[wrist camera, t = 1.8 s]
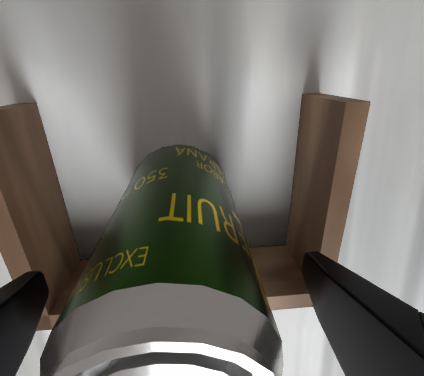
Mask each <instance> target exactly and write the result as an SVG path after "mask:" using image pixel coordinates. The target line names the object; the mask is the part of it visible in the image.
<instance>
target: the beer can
mask: <svg viewBox="0 0 424 376" xmlns="http://www.w3.org/2000/svg"><path fill="white" fill-rule="evenodd" d="M282 370H283V353H282V340H281V337H280V335H279V332H278V329H277V326H276V323H275V320H274V317H273V314H272V311H271V309H270V306H269V303H268V300H267V297H266V294H265V291H264V288H263V286H262V283H261V280H260V277H259V274H258V271H257V268H256V265H255V262H254V260H253V257H252V254H251V251H250V248H249V245H248V242H247V239H246V237H245V234H244V231H243V228H242V225H241V222H240V219H239V216H238V213H237V211H236V208H235V205H234V202H233V199H232V196H231V193H230V190H229V188H228V185H227V182H226V179H225V176H224V174H223V172H222V170H221V168H220V166H219V164H218V163H217V162H216V161H215V160H214V159H213V158H212V157H211V156H210V155H209V154H208V153H206V152H204V151H202V150H199V149H197V148H195V147H192V146H185V145H173V146H167V147H162V148H160V149H158V150H156V151H155V152H153V153H151V154H149V155H148V156H147V157H146V158H145V159H144V160H143V162H142V163H141V164H140V165H139V166H138V168H137V170H136V172H135V174H134V176H133V178H132V180H131V182H130V183H129V185H128V187H127V189H126V191H125V193H124V195H123V197H122V199H121V200H120V202H119V204H118V206H117V208H116V210H115V212H114V214H113V216H112V217H111V219H110V221H109V223H108V225H107V227H106V229H105V231H104V233H103V234H102V236H101V238H100V240H99V242H98V244H97V246H96V248H95V250H94V251H93V253H92V255H91V257H90V259H89V261H88V263H87V265H86V267H85V268H84V270H83V272H82V274H81V276H80V278H79V280H78V282H77V284H76V285H75V287H74V289H73V291H72V293H71V295H70V297H69V299H68V301H67V302H66V304H65V306H64V308H63V310H62V312H61V314H60V316H59V318H58V319H57V321H56V323H55V325H54V327H53V329H52V331H51V333H50V335H49V338H48V340H47V343H46V345H45V348H44V351H43V353H42V356H41V358H40V376H282Z"/></svg>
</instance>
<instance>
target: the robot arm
mask: <svg viewBox="0 0 424 376" xmlns="http://www.w3.org/2000/svg"><path fill="white" fill-rule="evenodd" d="M302 275H303V279H304V281H305V284H306V287H307V290H308V293H309V296H310V298H311V301H312V304H313V307H314V310H315V312H316V315H317V317H318V320H319V322H320V324H321V326H322V328H323V330H324V332H325V334H326V336H327V339H328V341H329V343H330V345H331V347H332V349H333V351H334V353H335V355H336V357H337V359H338V361H339V363H340V366H341V368H342V370H343V372H344V374H345V376H424V313H422V312H418V310H417V309H415V308H413V307H412V306H410V305H408V304H407V303H405V302H403V301H401V300H400V299H398V298H396V297H395V296H393V295H391V294H390V293H388V292H386V291H385V290H383V289H381V288H379V287H378V286H376V285H374V284H373V283H371V282H369V281H368V280H366V279H364V278H362V277H361V276H359V275H357V274H356V273H354V272H352V271H351V270H349V269H347V268H345V267H344V266H342V265H340V264H339V263H337V262H335V261H334V260H332V259H330V258H328V257H327V256H325V255H323V254H322V253H320V252H318V251H306V252H305V254H304V258H303V265H302ZM48 296H49V287H48V285H47V282H46V279H45V276H44V274H43V272H42V271H28V272H26V273H24V274H22V275H21V276H19V277H17V278H16V279H14V280H13V281H11V282H9V283H8V284H6V285H4V286H3V287H1V288H0V376H15V375H16V373H17V371H18V369H19V367H20V365H21V363H22V361H23V359H24V357H25V355H26V353H27V351H28V348H29V346H30V344H31V342H32V339H33V337H34V334H35V332H36V329H37V326H38V324H39V321H40V318H41V316H42V313H43V310H44V307H45V305H46V302H47V299H48Z"/></svg>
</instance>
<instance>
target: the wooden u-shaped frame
mask: <svg viewBox="0 0 424 376" xmlns="http://www.w3.org/2000/svg"><path fill="white" fill-rule="evenodd" d="M369 107H370V101H364V100H358V99H352V98H346V97H339V96H333V95H327V94H321V93H317V94H302V103H301V112H300V121H299V131H298V140H297V149H296V159H295V168H294V178H293V187H292V196H291V206H290V215H289V224H288V234H287V243H286V245H282V246H269V247H255V248H250V251H251V254H252V257H253V260H254V262H255V265H256V268H257V271H258V274H259V277H260V280H261V283H262V286H263V288H264V291H265V294H266V297H267V300H268V303H269V306H270V309H271V310H279V309H290V308H302V307H313V304H312V301H311V298H310V296H309V293H308V290H307V287H306V284H305V281H304V279H303V275H302V265H303V258H304V254H305V252H306V251H318V252H320V253H322V254H323V255H325V256H327V257H328V258H330V259H332V260H334V261H335V262H337V261H338V256H339V251H340V247H341V242H342V237H343V232H344V227H345V223H346V218H347V213H348V208H349V203H350V199H351V194H352V189H353V184H354V179H355V174H356V170H357V165H358V160H359V155H360V150H361V146H362V141H363V136H364V131H365V126H366V121H367V117H368V112H369ZM0 252H1V255H2V257H3V259H4V262H5V264H6V266H7V269H8V271H9V273H10V276H11V278H12V280H14V279H16V278H17V277H19V276H21V275H22V274H24V273H26V272H28V271H42V272H43V274H44V276H45V279H46V282H47V285H48V287H49V296H48V299H47V302H46V305H45V307H44V310H43V313H42V316H41V318H40V321H39V324H38V326H37V329H36V331H39V330H51V329H53V327H54V325H55V323H56V321H57V319H58V318H59V316H60V314H61V312H62V310H63V308H64V306H65V304H66V302H67V301H68V299H69V297H70V295H71V293H72V291H73V289H74V287H75V285H76V284H77V282H78V280H79V278H80V276H81V274H82V272H83V270H84V268H85V267H86V265H87V263H88V261H89V259H87V260H80V256H79V253H78V249H77V246H76V242H75V239H74V235H73V231H72V228H71V224H70V221H69V217H68V214H67V210H66V207H65V203H64V199H63V196H62V192H61V189H60V185H59V182H58V178H57V175H56V171H55V167H54V164H53V160H52V157H51V153H50V150H49V146H48V143H47V139H46V136H45V132H44V128H43V125H42V121H41V118H40V114H39V111H38V107H37V104H36V103H23V104H12V105H6V106H1V107H0Z"/></svg>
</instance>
